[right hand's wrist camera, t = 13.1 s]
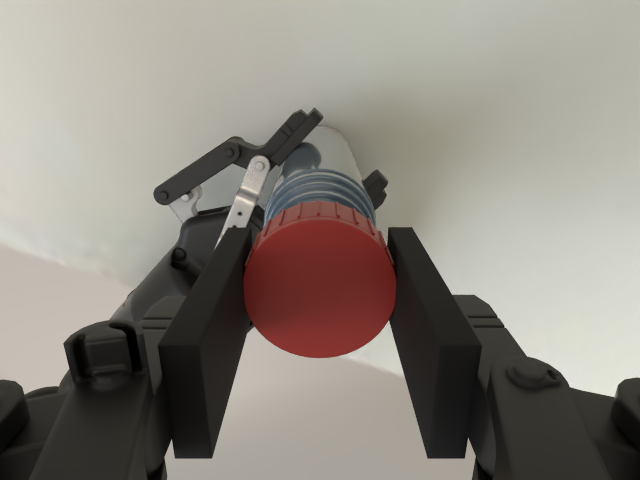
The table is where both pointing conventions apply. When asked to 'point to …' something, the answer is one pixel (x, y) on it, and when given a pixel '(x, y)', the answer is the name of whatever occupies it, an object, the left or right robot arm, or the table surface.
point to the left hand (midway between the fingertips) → (350, 145)
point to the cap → (319, 280)
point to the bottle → (320, 176)
